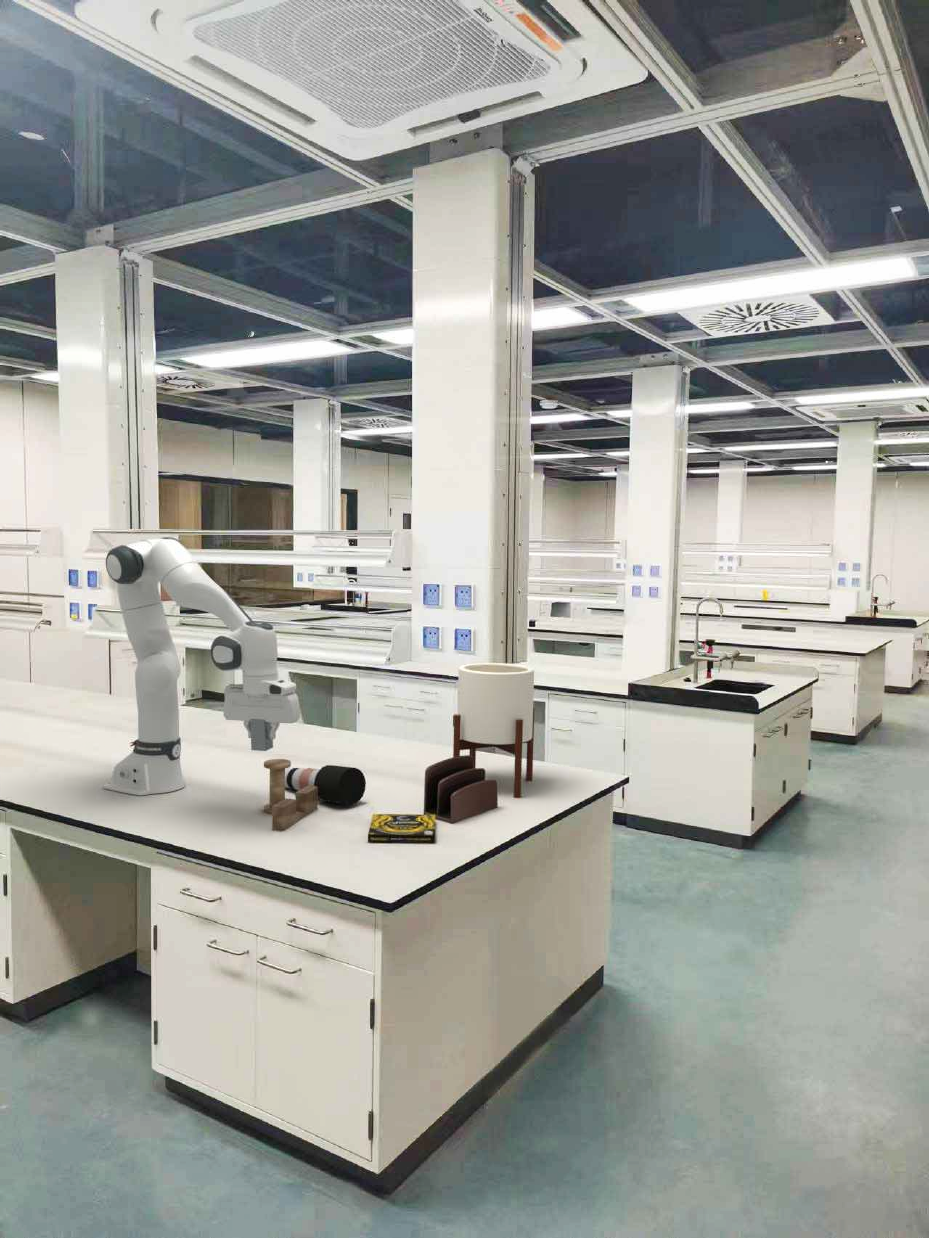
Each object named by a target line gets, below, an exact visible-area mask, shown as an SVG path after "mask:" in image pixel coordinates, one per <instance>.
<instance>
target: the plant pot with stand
mask: <svg viewBox="0 0 929 1238" xmlns="http://www.w3.org/2000/svg"><path fill="white" fill-rule="evenodd" d="M457 681H458V685H457V686H458V688H457V692H458V693H457V713H454V714H453V745H452V746H453V747H452V749H453V750H452V751H453V752H452V753H453V754H452V755H453V757H457V756H461V751H464V750H465V751H466V750H469V752H468V753H469V755H471V756H473V769H474V768H476V765H477V764H476V763H477V762H476V760H477V759H476V758H477V757H476V756H477V755H476V753H477V749H485V748H492V747H493V748H496V749H499V750H501V751H504V752H507V753H509V754H511V755H514V773H513V774H514V775H513V777H514V779H513V780H514V781H513V783H514V785H513V798H514V799H521V798H522V769H523V767H522V763H523V744H526V767H525V768H526V769H525V770H526V771H525V773H526V775H525V776H526V777H525V781H526V782H530V783H531V782H533V776H534V775H533V771H534V768H533V767H534V766H533V765H534V743H535V742H534V740H535V739H534V738H535V737H534V736H535V707H534V691H535V690H534V687H535V686H534V685H535V684H534V683H535V682H534V681H535V669H534V668H533V667H531V666H528V665H524V664H523V665H522V664H517V663H516V664H515V663H514V664H513V663H502V662H479V663H478V662H477V663H467V664H462V665H460V666H458V680H457ZM453 757H452V758H453Z"/></svg>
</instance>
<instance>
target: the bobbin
mask: <svg viewBox="0 0 929 1238" xmlns="http://www.w3.org/2000/svg"><path fill="white" fill-rule="evenodd" d="M291 766H292V761H291V760H289V759H286V758H285V759H284V758H271V759H267V760H265V761H264V762H263V767H264V768H265V769H269V803H266V804H265V805H263V812H264V813H265V814H268V815H272V806H274V805H275V804H277V803H279V802H280V801H282V800H284V799H286V788H285V768H288V767H291Z"/></svg>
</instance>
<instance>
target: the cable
mask: <svg viewBox="0 0 929 1238" xmlns="http://www.w3.org/2000/svg"><path fill="white" fill-rule="evenodd" d="M366 785H367V782H366V777H365V775H364V773H363V772H362V770H361V769H359V768H357V767H351V766H341V765H332V764H327V765H324V766H322V767H321V768H313V767H311V768H310V767H308V768H305V767H291V766H290V767H288V768H285V789H291V790H296V791H297V792H298V791H299V790H301V789H303V788H305V787H306V786H315V787H318V799H319V800H321V801H323V802H328V803H336V804H340V805H341V804H342V805H348V806H353V805H356V804H357V803H359V802H360V801H361V799H362V798H363V797H364V795H365V791H366Z"/></svg>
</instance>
